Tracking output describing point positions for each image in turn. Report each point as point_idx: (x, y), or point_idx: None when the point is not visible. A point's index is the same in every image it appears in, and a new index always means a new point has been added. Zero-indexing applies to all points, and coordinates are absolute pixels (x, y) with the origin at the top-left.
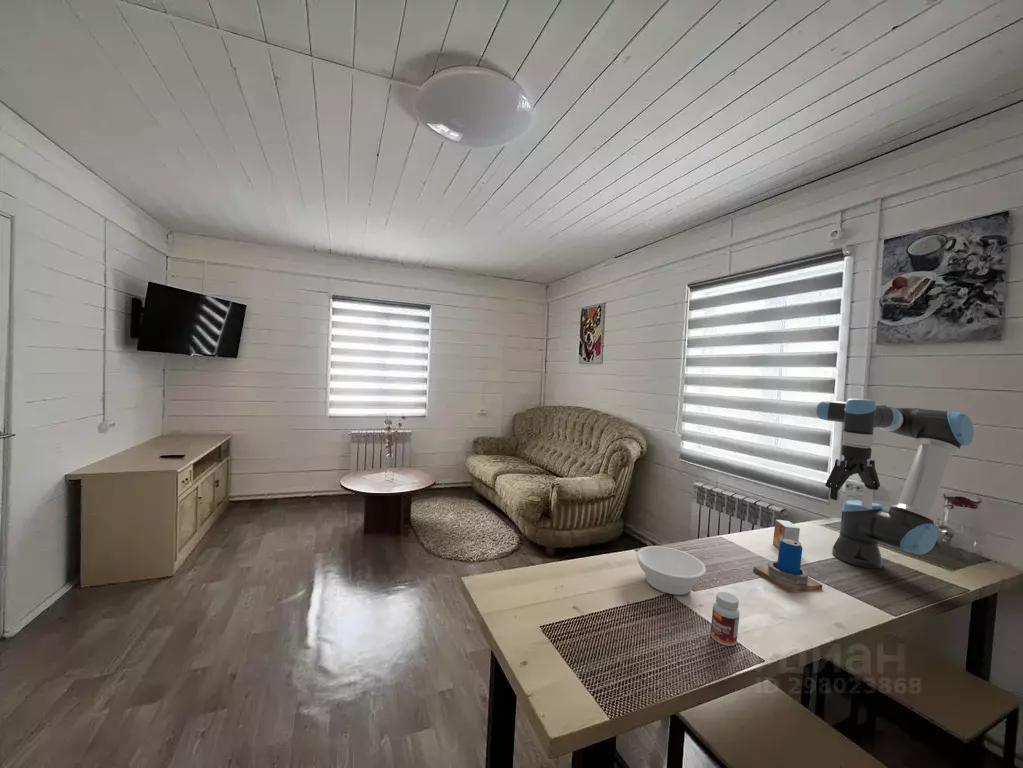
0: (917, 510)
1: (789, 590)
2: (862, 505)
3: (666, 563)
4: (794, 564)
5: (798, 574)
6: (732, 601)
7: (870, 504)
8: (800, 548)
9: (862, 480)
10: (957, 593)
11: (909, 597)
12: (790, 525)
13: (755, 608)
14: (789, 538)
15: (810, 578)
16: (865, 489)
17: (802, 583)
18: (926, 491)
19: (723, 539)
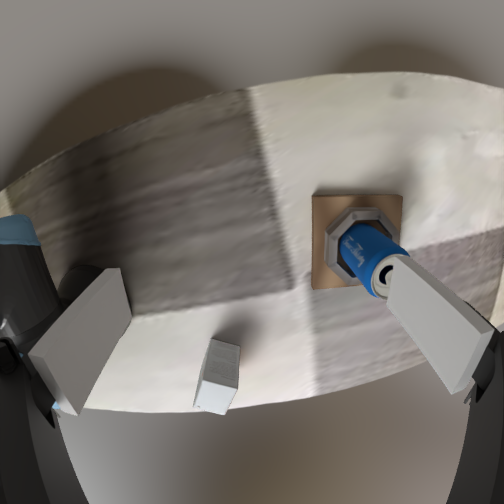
0: None
1: (398, 195)
2: (128, 316)
3: None
4: (382, 234)
5: (358, 226)
6: None
7: (105, 283)
8: (388, 249)
9: (75, 477)
10: (28, 175)
11: (124, 153)
12: (215, 392)
13: (479, 167)
14: (227, 365)
15: (315, 226)
16: (74, 392)
17: (359, 207)
18: None
19: (324, 387)
